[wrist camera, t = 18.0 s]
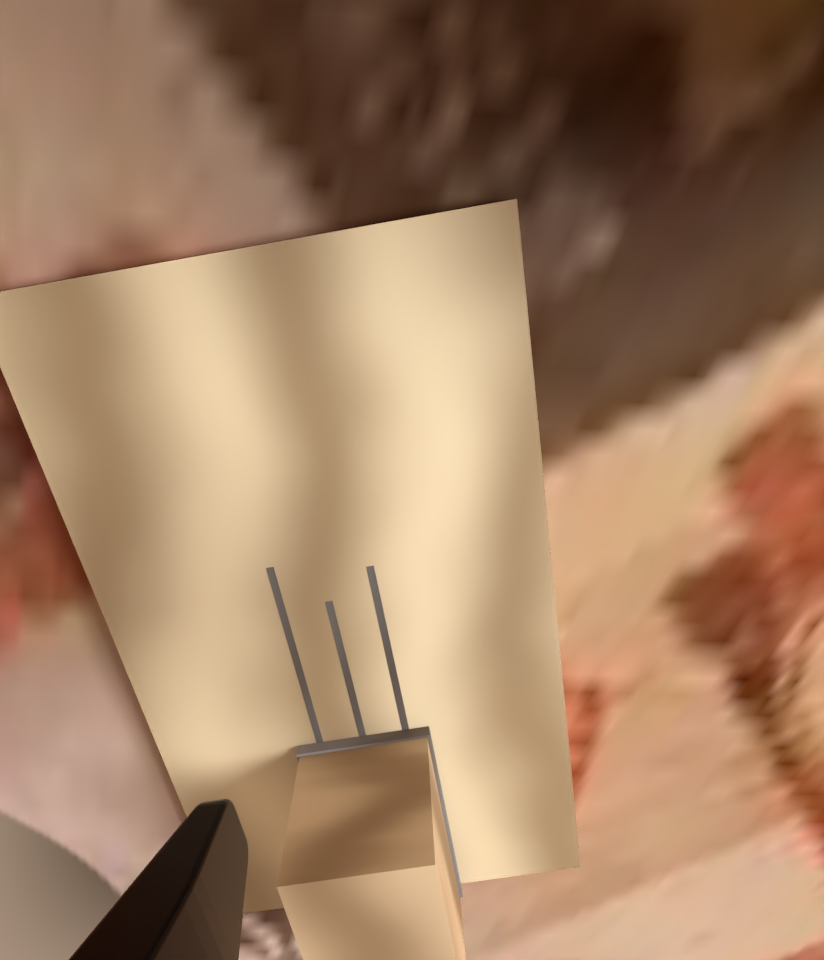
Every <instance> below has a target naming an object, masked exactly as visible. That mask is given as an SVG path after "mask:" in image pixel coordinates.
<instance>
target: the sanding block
mask: <svg viewBox="0 0 824 960" xmlns="http://www.w3.org/2000/svg"><path fill="white" fill-rule="evenodd" d="M296 757H297V760H298V768H297V774H296V780H295V785H294V791H293V797H292V802H291V808H290V814H289V820H288V825H287V831H286V837H285V842H284V848H283V854H282V860H281V865H280V871H279V877H278V882H277V889H278V892H279V895H280V898H281V900H282V903H283V906H284V909H285V911H286V914H287V917H288V920H289V922H290V925H291V928H292V931H293V933H294V936H295V939H296V942H297V944H298V947H299V950H300V953H301V955H302V958H303V960H466V956H465V946H464V936H463V925H462V915H461V904H460V897H463V896H462V887H461V882H460V877H459V872H458V867H457V862H456V857H455V852H454V847H453V842H452V837H451V832H450V827H449V822H448V817H447V812H446V807H445V802H444V798H443V793H442V788H441V783H440V778H439V773H438V768H437V763H436V758H435V753H434V748H433V743H432V738H431V733H430V728H429V726H427V727H420V728H414V729H407V730H400V731H394V732H387V733H380V734H374V735H367V736H360V737H353V738H347V739H340V740H333V741H327V742H320V743H313V744H306V745H300V746H297V752H296Z"/></svg>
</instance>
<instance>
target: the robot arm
mask: <svg viewBox="0 0 824 960" xmlns="http://www.w3.org/2000/svg"><path fill="white" fill-rule="evenodd" d="M247 868H248V843H247V839H246V836H245V833H244V830H243V828H242V825H241V822H240V820H239V817H238V814H237V812H236V809H235V806H234V804H233V802H232V801H231V800H229V799H219V800H212V801H205V802H202V803H200V804H199V805H197V806H196V807H195V808H194V809H193V811H192V812H191V813H190V814H189V815H188V817H187V818H186V819H185V820H184V821H183V823H182V824H181V825H180V826H179V827H178V829H177V830H176V831H175V832H174V833H173V835H172V836H171V837H170V838H169V840H168V841H167V842H166V843H165V844H164V846H163V847H162V848H161V849H160V850H159V852H158V853H157V854H156V855H155V856H154V858H153V859H152V860H151V861H150V862H149V864H148V865H147V866H146V867H145V868H144V870H143V871H142V872H141V873H140V874H139V876H138V877H137V878H136V879H135V880H134V882H133V883H132V884H131V885H130V886H129V888H128V889H127V890H126V891H125V892H124V894H123V895H122V896H121V897H120V899H119V900H118V901H117V902H116V903H115V905H114V906H113V907H112V908H111V909H110V911H109V912H108V913H107V914H106V915H105V917H104V918H103V919H102V920H101V921H100V923H99V924H98V925H97V926H96V927H95V929H94V930H93V931H92V932H91V933H90V935H89V936H88V937H87V938H86V940H85V941H84V942H83V943H82V944H81V945H80V947H79V948H78V949H77V950H76V952H75V953H74V954H73V955H72V956H71V958H70V959H69V960H238V958H239V948H240V938H241V928H242V918H243V908H244V898H245V888H246V878H247Z"/></svg>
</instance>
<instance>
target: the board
mask: <svg viewBox="0 0 824 960" xmlns="http://www.w3.org/2000/svg"><path fill="white" fill-rule="evenodd" d="M0 368H1V370H2V373H3V375H4V377H5V380H6V382H7V385H8V387H9V390H10V392H11V394H12V397H13V399H14V402H15V404H16V406H17V409H18V411H19V414H20V416H21V419H22V421H23V423H24V426H25V428H26V431H27V433H28V435H29V438H30V440H31V443H32V445H33V448H34V450H35V452H36V455H37V457H38V460H39V462H40V464H41V467H42V469H43V472H44V474H45V476H46V479H47V481H48V484H49V486H50V489H51V491H52V493H53V496H54V498H55V501H56V503H57V505H58V508H59V510H60V513H61V515H62V518H63V520H64V522H65V525H66V527H67V530H68V532H69V534H70V537H71V539H72V542H73V544H74V546H75V549H76V551H77V554H78V556H79V559H80V561H81V563H82V566H83V568H84V571H85V573H86V575H87V578H88V580H89V583H90V585H91V588H92V590H93V592H94V595H95V597H96V600H97V602H98V604H99V607H100V609H101V612H102V614H103V616H104V619H105V621H106V624H107V626H108V629H109V631H110V633H111V636H112V638H113V641H114V643H115V645H116V648H117V650H118V653H119V655H120V658H121V660H122V662H123V665H124V667H125V670H126V672H127V674H128V677H129V679H130V682H131V684H132V686H133V689H134V691H135V694H136V696H137V699H138V701H139V703H140V706H141V708H142V711H143V713H144V715H145V718H146V720H147V723H148V725H149V728H150V730H151V732H152V735H153V737H154V740H155V742H156V744H157V747H158V749H159V752H160V754H161V756H162V759H163V761H164V764H165V766H166V769H167V771H168V773H169V776H170V778H171V781H172V783H173V785H174V788H175V790H176V793H177V795H178V798H179V800H180V802H181V805H182V807H183V810H184V812H185V814H186V817H188V815H189V814H190V813H191V812H192V811H193V809H194V808H195V807H196V806H197V805H199V804H200V803H202V802H205V801H212V800H219V799H229V800H231V801H232V802H233V804H234V806H235V809H236V812H237V814H238V817H239V820H240V822H241V825H242V828H243V830H244V833H245V836H246V839H247V843H248V868H247V878H246V888H245V898H244V908H243V914H244V913H251V912H258V911H266V910H273V909H280V908H284V906H283V903H282V900H281V898H280V895H279V892H278V889H277V882H278V877H279V871H280V865H281V860H282V854H283V848H284V842H285V837H286V831H287V825H288V820H289V814H290V808H291V802H292V797H293V791H294V785H295V780H296V774H297V768H298V760H297V757H296V752H297V746H300V745H306V744H313V743H320V742H327V741H333V740H340V739H347V738H353V737H360V736H367V735H374V734H380V733H387V732H394V731H400V730H407V729H414V728H420V727H427V726H429V728H430V733H431V738H432V743H433V748H434V753H435V758H436V763H437V768H438V773H439V778H440V783H441V788H442V793H443V798H444V802H445V807H446V812H447V817H448V822H449V827H450V832H451V837H452V842H453V847H454V852H455V857H456V862H457V867H458V872H459V877H460V882H461V883H468V882H475V881H482V880H490V879H497V878H504V877H511V876H518V875H526V874H533V873H540V872H547V871H555V870H562V869H569V868H576V867H580V857H579V846H578V836H577V825H576V815H575V804H574V794H573V783H572V773H571V762H570V751H569V741H568V730H567V720H566V709H565V699H564V688H563V678H562V667H561V657H560V646H559V636H558V625H557V615H556V604H555V594H554V583H553V573H552V562H551V552H550V541H549V531H548V520H547V510H546V499H545V489H544V478H543V468H542V457H541V446H540V436H539V425H538V415H537V404H536V394H535V383H534V373H533V362H532V352H531V341H530V331H529V320H528V310H527V299H526V289H525V278H524V268H523V257H522V247H521V236H520V226H519V215H518V205H517V199H513V200H507V201H501V202H495V203H490V204H484V205H479V206H473V207H468V208H462V209H456V210H451V211H445V212H440V213H434V214H429V215H423V216H417V217H412V218H406V219H401V220H395V221H390V222H384V223H378V224H373V225H367V226H362V227H356V228H351V229H345V230H339V231H334V232H328V233H323V234H317V235H312V236H306V237H300V238H295V239H289V240H284V241H278V242H273V243H267V244H261V245H256V246H250V247H245V248H239V249H234V250H228V251H222V252H217V253H211V254H206V255H200V256H195V257H189V258H183V259H178V260H172V261H167V262H161V263H156V264H150V265H145V266H139V267H133V268H128V269H122V270H117V271H111V272H106V273H100V274H94V275H89V276H83V277H78V278H72V279H67V280H61V281H55V282H50V283H44V284H39V285H33V286H28V287H22V288H16V289H11V290H5V291H0Z"/></svg>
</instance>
